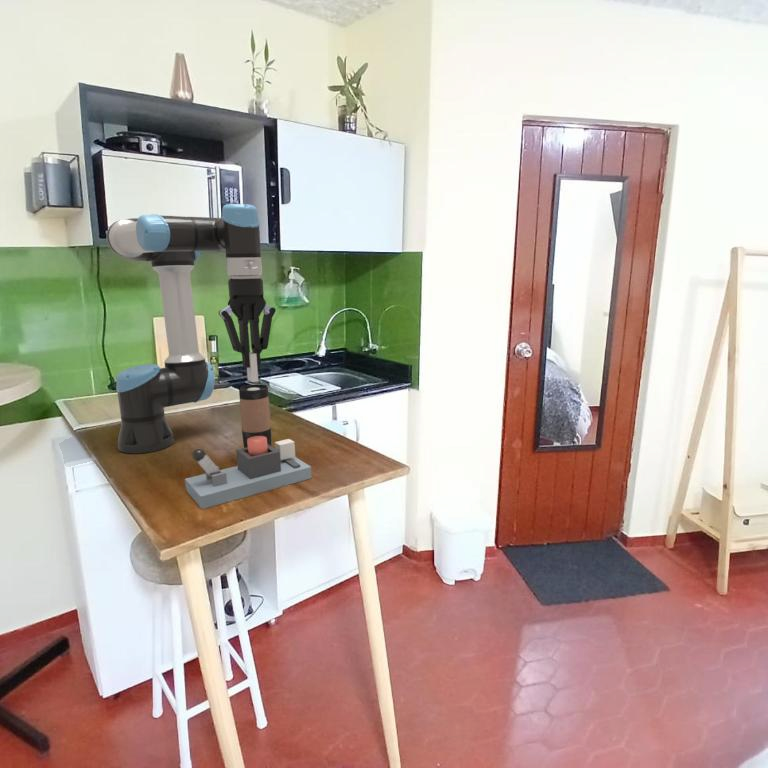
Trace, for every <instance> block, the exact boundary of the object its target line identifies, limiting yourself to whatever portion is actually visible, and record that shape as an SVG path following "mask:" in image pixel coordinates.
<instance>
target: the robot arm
mask: <svg viewBox="0 0 768 768" xmlns="http://www.w3.org/2000/svg"><path fill="white" fill-rule="evenodd" d="M221 214H222V216H221V217H203V216H201V217H200V216H179V215H178V216H177V215H162V214H143V215H142V214H141V215H140V216H139V217H138V218H137V217H135V218H132V217H131V218H125V219H121V220H117V221H115V222H113V223H112V224H111V225H110V226H109V227H108V229H107V231H106V237H105V238H106V243H107V245H108V247H109V248H110V250H111V251H112V252H113V253H114V254H116V255H117V256H119V257H120V258H124V259H126V260H129V261H136V262H151V268H152V270H154V271H155V272H157V274H158V278H159V279H158V280H159V287H160V288H159V289H160V293H161V303H162V311H163V316H164V317H163V318H164V325H165V335H166V341H167V342H166V343H167V351H168V356H167V357H166V358H165V359H164V362H163V363H164V367H162V368H161V367H160V366H159V365H158V364H155V363H148V364H139V365H136V366H132V367H129V368H126V369H123V370H122V371H120V372H119V373H118V374H117V376H116V379H115V383H116V389H115V390H116V392H117V399H118V405H119V407H118V408H119V413H120V420H121V422H120V423H121V424H120V428H119V429H120V430H119V432H118V433H119V434H118V439H117V448H118V449H117V450H118V451H119V452H121V453H125V454H147V453H151V452H152V453H153V452H155V451H161V450H163V449H166V448H167V447H168V448H169V447H170V446H172V444H174V441H175V439H174V437H175V436H174V432H173V431H172V429H171V427H170V425H169V423H168V420H167V418H166V416H165V414H166V413H165V408H169V407H174V406H180V405H184V404H185V405H186V404H191V403H195V404H197V403H198V402H201V401H206V400H208V399H209V398H210V397H211V396H212V394H213V392H214V388H215V380H216V379H215V371H214V370H213V369H214V368H213V366H212V364H211V363H210V362H207V361H206V357H205V356H204V355H202V354H201V353H200V348H199V341H198V340H199V339H198V332H197V331H198V330H197V323H196V315H195V306H194V298H193V297H194V296H193V290H192V288H193V287H192V281H191V280H192V279H191V272H192V270H193V269H194V268H195V262H198V260H199V259H200V258H201V256H200V255H201V253H200V252H214V253H225V258H226V259H225V260H226V272H227V274H226V275H227V276H228V277H230V278H229V279H228V280H227V284H228V285H227V286H228V296H229V299H228V302H227V306H226V307H225V308H223V309H221V310H219V311H218V316H220V318H221V319H222V320H223V322H224V325H225V328H226V329H225V330H226V332H227V335H228V337H229V341H230V344H231V347H232V350H233V352H237V353H240V354H241V357H242V358H241V359H242V366H243V368H245V369H246V373H247V381H248V382H250V383H256V382H259V372H258V367H260V366H261V363H262V362H261V353H262V351H264V350H267V349H268V346H269V342H270V334H271V328H272V321H273V317H274V315H275V314H276V312H277V310H276V307H272V306H270V305H268V304H267V302H266V299H265V297H264V282H263V279H262V278H261V277H260V276H262V275H263V267H262V265H263V264H262V254H261V251H262V250H261V236H260V235H261V234H260V233H261V232H260V224H261V223H260V221H259V212H258V209H257V207H256V206H255V205H253V204H247V203H231V204H230V203H229V204H225V205H223V206H222V212H221ZM262 313H263V316H262V322H261V327H260V325H259V324H260V316H261V315H262ZM233 314H234V316H235V317H236V319H237V324H238V331H239V332H238V333H239V336H238V333H237V328H236V326H235V323H234V320H233V318H232V316H233ZM249 333H250V334H249ZM250 346H251V350H250Z"/></svg>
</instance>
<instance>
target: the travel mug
mask: <svg viewBox="0 0 768 768" xmlns="http://www.w3.org/2000/svg"><path fill="white" fill-rule="evenodd" d="M238 392H239V393H238V394H239V395H238V396H239V406H240V407H239V409H240V422H241V434H242V441H243V448H247V447H248V445H247V439H248V438H250V437H253V436H265V437H267V444H269V445H270V446H272V426H271V424H272V422H271V411H270V410H271V409H270V399H269V386H268V385H266V384H259V383H258V384H246V385H242V386H241V387H240V389H238ZM272 447H273V446H272Z"/></svg>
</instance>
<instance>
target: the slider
mask: <svg viewBox="0 0 768 768" xmlns="http://www.w3.org/2000/svg"><path fill="white" fill-rule="evenodd" d="M295 443H296V442H295V441H294V440H292V439H290V438H287V439H282V440H279V441H275V442H274V448H275V449H276V450H278V451H279V452H280V460H284V459H288V458H292V457H296V445H295Z"/></svg>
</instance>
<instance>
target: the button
mask: <svg viewBox="0 0 768 768" xmlns="http://www.w3.org/2000/svg"><path fill="white" fill-rule="evenodd" d="M247 445H248V454H249V455H250V456H256V455H260V454H264V453H268V448H267V437H265V436H253V437H250V438H248V439H247Z"/></svg>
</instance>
